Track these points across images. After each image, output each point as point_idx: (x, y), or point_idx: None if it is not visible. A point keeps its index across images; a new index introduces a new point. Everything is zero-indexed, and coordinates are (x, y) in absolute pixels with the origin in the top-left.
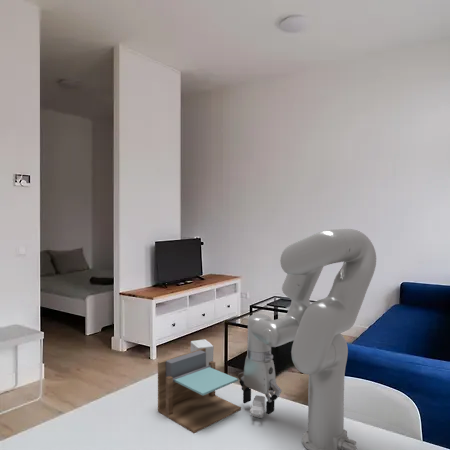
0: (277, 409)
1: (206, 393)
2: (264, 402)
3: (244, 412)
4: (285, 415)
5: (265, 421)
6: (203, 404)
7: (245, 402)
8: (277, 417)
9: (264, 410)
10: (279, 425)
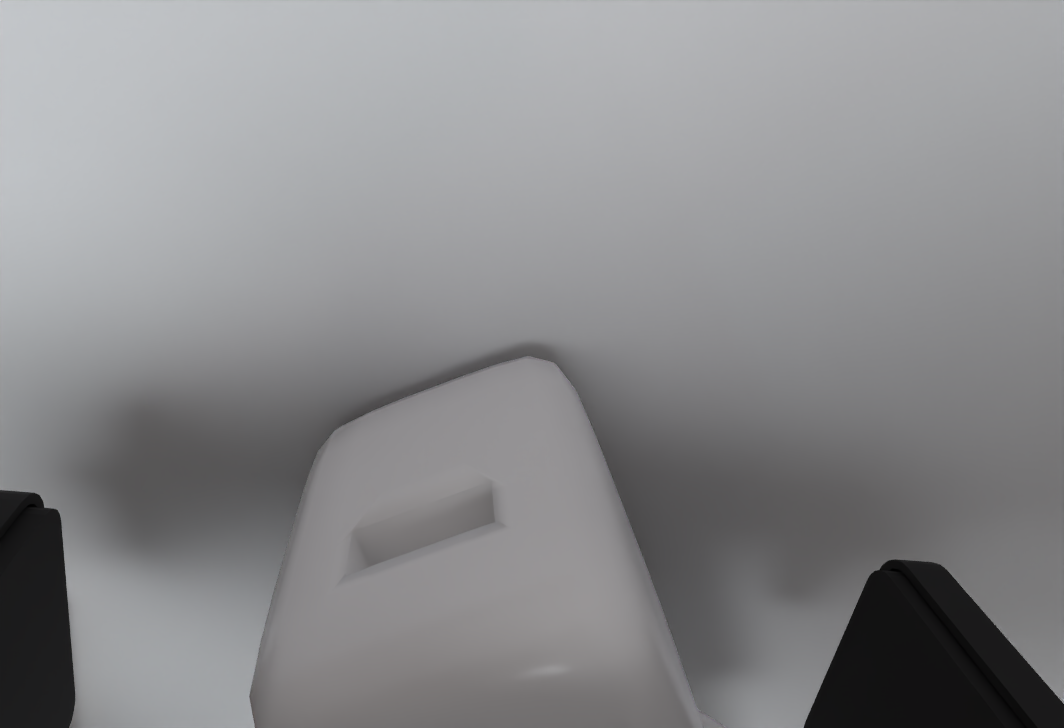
0: (783, 35)
1: None
2: (688, 699)
3: (198, 627)
4: (1060, 206)
5: (742, 639)
6: None
7: (65, 712)
8: (908, 394)
9: (631, 528)
10: (1020, 600)
